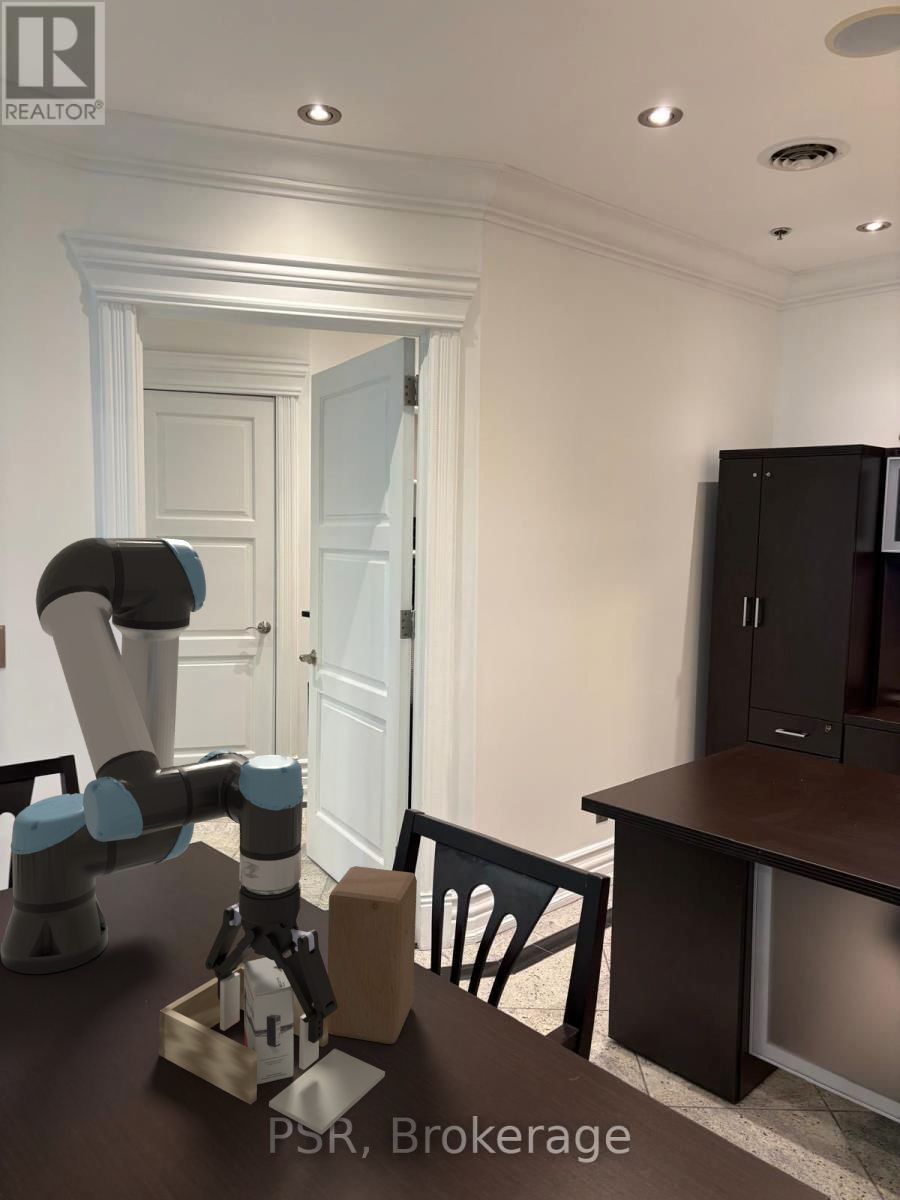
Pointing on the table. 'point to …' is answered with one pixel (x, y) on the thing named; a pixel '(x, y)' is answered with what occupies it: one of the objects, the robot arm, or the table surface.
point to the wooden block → (372, 953)
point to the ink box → (268, 1019)
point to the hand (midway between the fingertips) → (268, 1043)
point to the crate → (214, 1040)
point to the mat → (327, 1090)
